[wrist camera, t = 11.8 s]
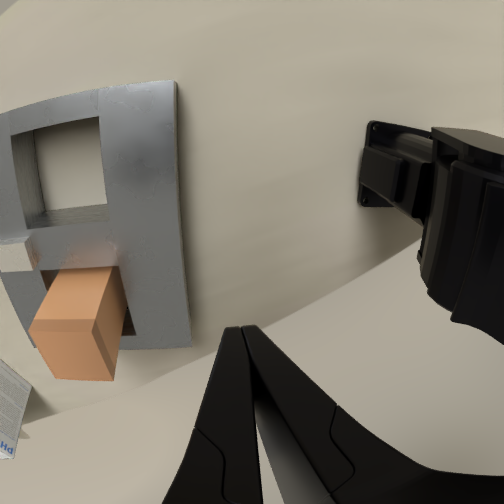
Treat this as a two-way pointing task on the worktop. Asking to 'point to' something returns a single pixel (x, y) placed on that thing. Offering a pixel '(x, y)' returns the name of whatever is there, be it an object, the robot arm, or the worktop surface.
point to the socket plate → (102, 211)
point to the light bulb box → (11, 409)
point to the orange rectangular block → (81, 323)
